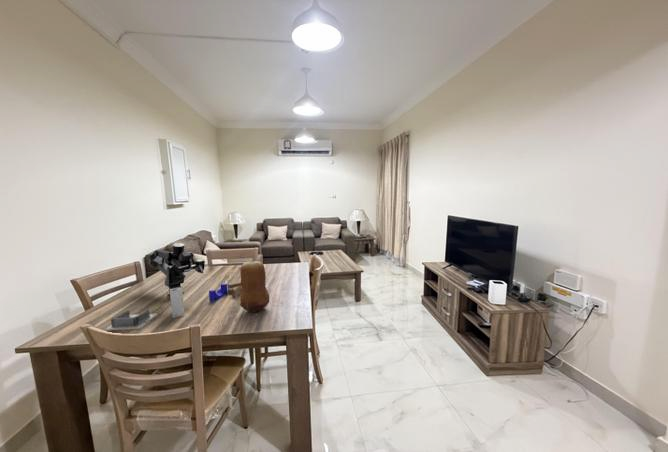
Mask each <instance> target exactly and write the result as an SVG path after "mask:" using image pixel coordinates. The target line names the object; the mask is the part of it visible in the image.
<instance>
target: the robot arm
mask: <svg viewBox="0 0 668 452" xmlns="http://www.w3.org/2000/svg"><path fill="white" fill-rule="evenodd" d="M194 256H195V255H194V252H193V251H185V243H180V242H174V243H173V244H172V251H168V250H165V249H156V250H153V253H152V254H151V255H149V257H148V260H147V263H148V265H149V266H150V267H151V268H157V269H158V270H159V271H160V272H161V273H162V274H163V275H165V280H164V285H165V287H167V288H168V291H169V292H168V293H167V294H166V296H169V297H170V289H172V288H177V287H182V285H181V284H185V278H186V275H185V273H187V272H188V273H189V272H190V271H193V270H195V271H196V272H197V273H199V274H203V273H204V270H205V260H204V259H202V258H201V259H196V260H195V261H194V262H195V263H194V264H192V261H191V259H193V258H194ZM169 263H171V264H172V265H169ZM191 264H192V265H191ZM182 293H183V294H184V291H182Z"/></svg>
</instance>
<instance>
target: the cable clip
mask: <svg viewBox="0 0 668 452" xmlns="http://www.w3.org/2000/svg"><path fill="white" fill-rule="evenodd" d="M228 294H229V292H228V283H221V284H220V288H218V289H217V291H216V290H215V289H210V290H208V296H209V299H208V300H209V302H214V303H215V302H216V301H218V300H219V299H221V298H223V297H224V296H226V295H228Z"/></svg>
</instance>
